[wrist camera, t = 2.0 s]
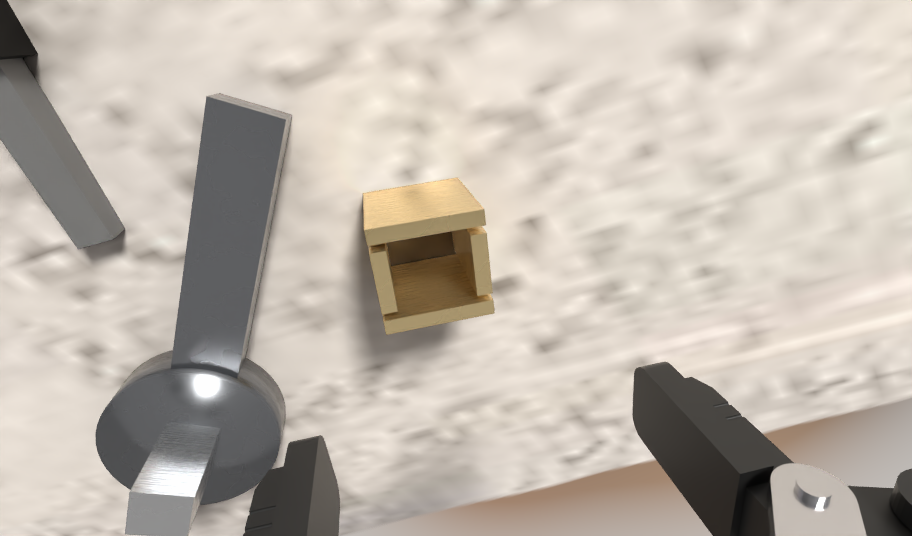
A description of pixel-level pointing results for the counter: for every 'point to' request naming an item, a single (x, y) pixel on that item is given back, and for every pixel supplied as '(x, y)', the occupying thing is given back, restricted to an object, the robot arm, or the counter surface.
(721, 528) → the robot arm
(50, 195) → the door handle
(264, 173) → the ratchet
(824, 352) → the counter surface
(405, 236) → the brass cube frame
